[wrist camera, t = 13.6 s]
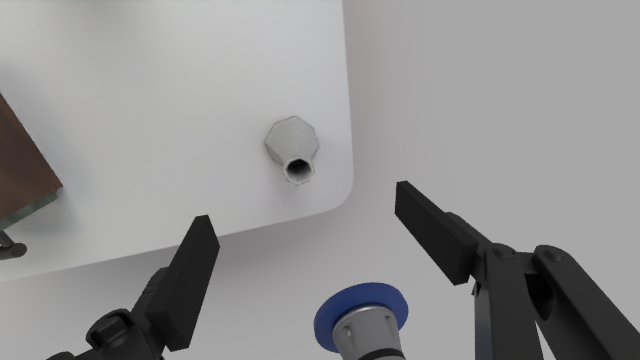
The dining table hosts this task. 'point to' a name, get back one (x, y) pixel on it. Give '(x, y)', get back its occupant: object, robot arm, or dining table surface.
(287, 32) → the dining table surface
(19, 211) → the drawer
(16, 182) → the cabinet
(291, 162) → the flask
